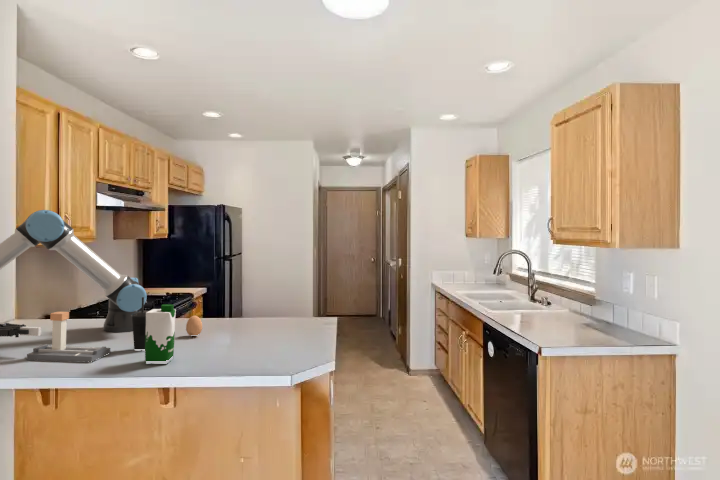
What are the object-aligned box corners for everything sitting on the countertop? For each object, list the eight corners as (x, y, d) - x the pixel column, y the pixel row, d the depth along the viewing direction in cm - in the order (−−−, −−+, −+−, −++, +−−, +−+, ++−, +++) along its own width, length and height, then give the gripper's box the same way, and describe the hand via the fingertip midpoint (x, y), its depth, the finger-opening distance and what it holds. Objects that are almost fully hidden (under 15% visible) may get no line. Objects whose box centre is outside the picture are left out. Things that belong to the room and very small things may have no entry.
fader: (49, 351, 164) (50, 313, 163) (56, 348, 168) (57, 311, 167) (61, 351, 164) (62, 313, 163) (68, 348, 168) (69, 311, 167)
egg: (204, 335, 205) (205, 314, 205) (197, 338, 198) (198, 317, 198) (190, 334, 206) (190, 313, 206) (182, 337, 199) (183, 316, 199)
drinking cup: (156, 348, 180) (158, 297, 180) (141, 353, 173) (143, 299, 173) (141, 346, 183) (142, 295, 183) (125, 350, 176) (127, 297, 175)
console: (26, 360, 160) (27, 350, 160) (50, 350, 172) (50, 342, 172) (91, 362, 160) (91, 353, 160) (110, 353, 172) (110, 344, 172)
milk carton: (168, 365, 160) (170, 307, 159) (141, 365, 159) (142, 306, 159) (176, 358, 168) (178, 303, 168) (150, 358, 168) (152, 302, 167)
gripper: (-13, 335, 172) (51, 337, 172) (-44, 343, 159) (26, 346, 159) (-13, 314, 172) (52, 317, 172) (-43, 321, 159) (27, 324, 159)
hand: (39, 331), depth 165 cm, fingers closed
